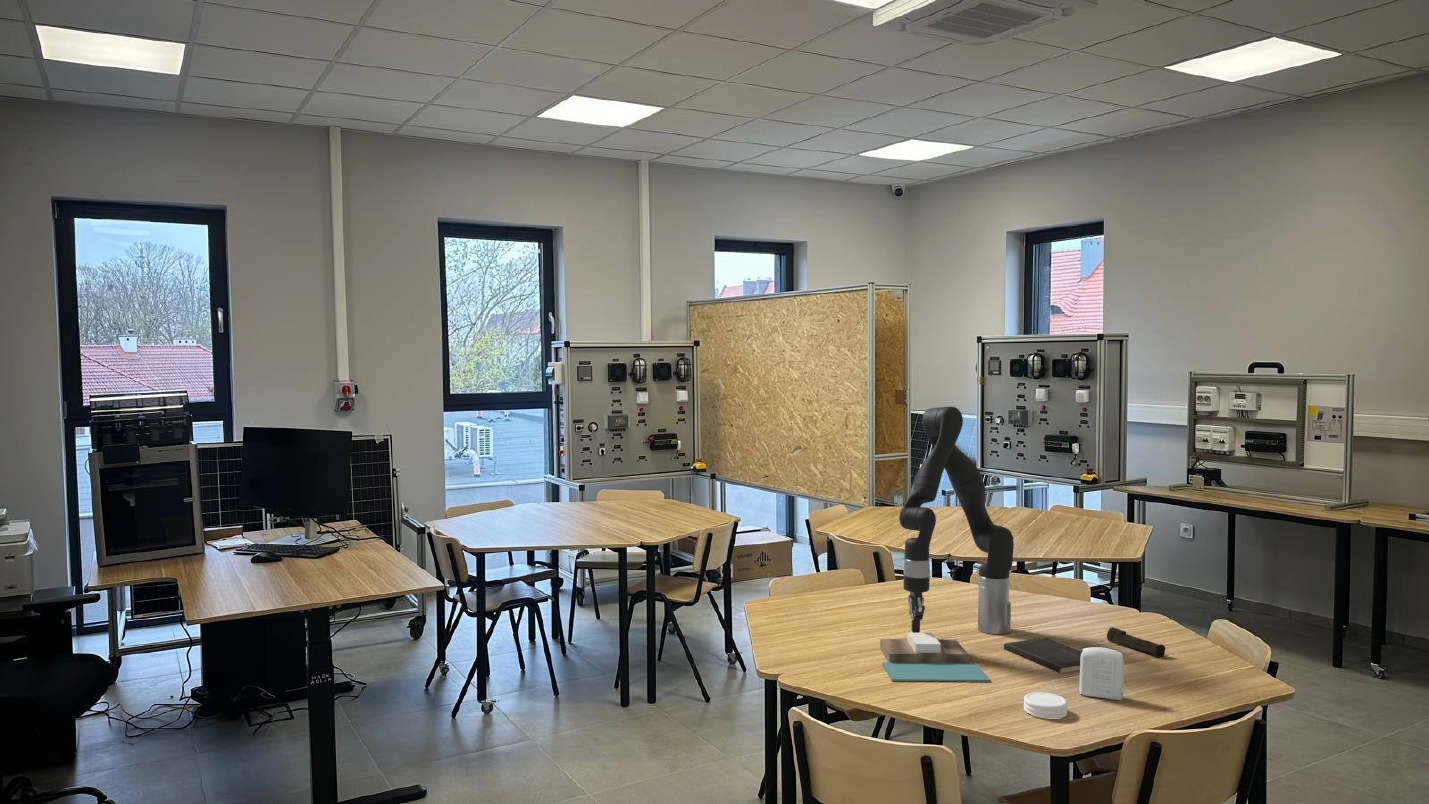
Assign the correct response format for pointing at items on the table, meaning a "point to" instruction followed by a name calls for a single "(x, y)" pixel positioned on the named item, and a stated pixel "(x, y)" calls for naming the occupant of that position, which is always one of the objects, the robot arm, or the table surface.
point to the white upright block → (1101, 673)
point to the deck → (904, 653)
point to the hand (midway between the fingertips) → (915, 632)
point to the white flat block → (924, 643)
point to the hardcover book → (1047, 654)
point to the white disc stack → (1045, 705)
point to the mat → (934, 671)
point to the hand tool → (1135, 642)
